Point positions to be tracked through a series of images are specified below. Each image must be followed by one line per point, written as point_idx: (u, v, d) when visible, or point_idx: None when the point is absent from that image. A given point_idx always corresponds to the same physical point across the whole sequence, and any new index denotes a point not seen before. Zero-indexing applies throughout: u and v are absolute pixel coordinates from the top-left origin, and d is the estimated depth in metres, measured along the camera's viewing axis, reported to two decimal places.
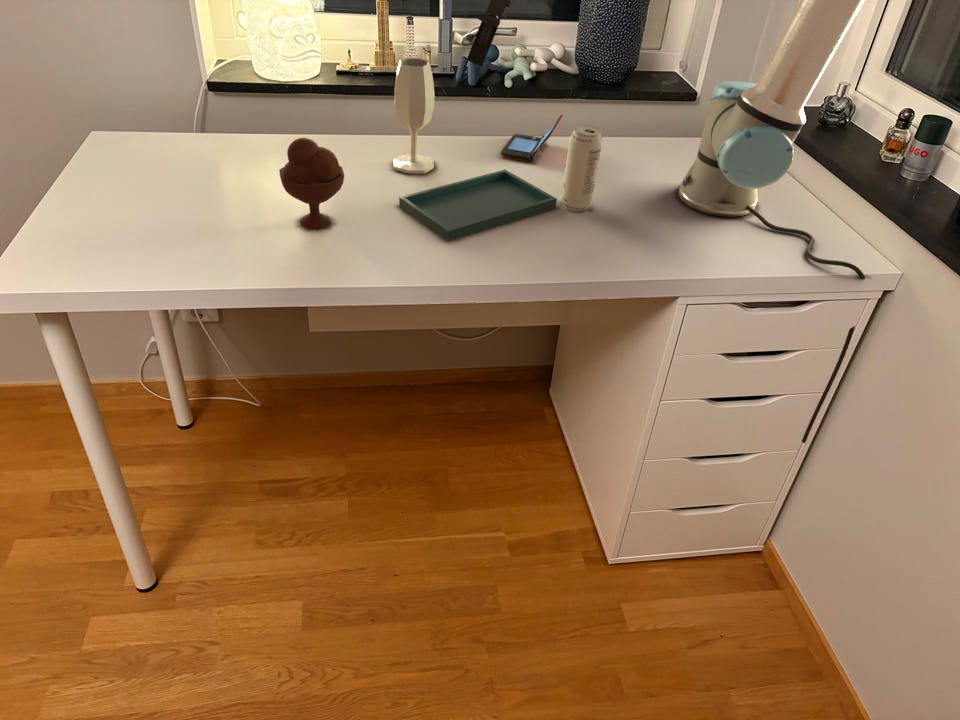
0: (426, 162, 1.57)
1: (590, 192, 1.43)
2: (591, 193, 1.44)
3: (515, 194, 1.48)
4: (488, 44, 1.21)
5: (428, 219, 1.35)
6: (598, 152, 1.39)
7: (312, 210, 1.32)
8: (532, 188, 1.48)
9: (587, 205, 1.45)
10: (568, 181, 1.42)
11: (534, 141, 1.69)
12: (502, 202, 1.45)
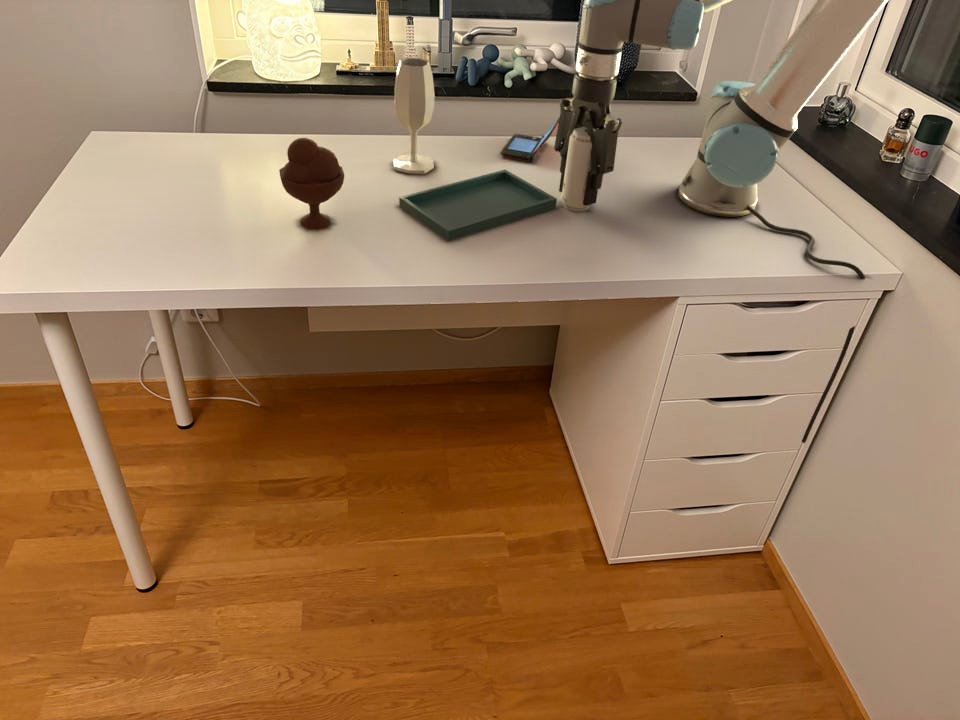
0: (426, 162, 1.57)
1: None
2: None
3: (515, 194, 1.48)
4: None
5: (428, 219, 1.35)
6: None
7: (312, 210, 1.32)
8: (532, 188, 1.48)
9: (587, 205, 1.45)
10: (568, 181, 1.42)
11: (534, 141, 1.69)
12: (502, 202, 1.45)
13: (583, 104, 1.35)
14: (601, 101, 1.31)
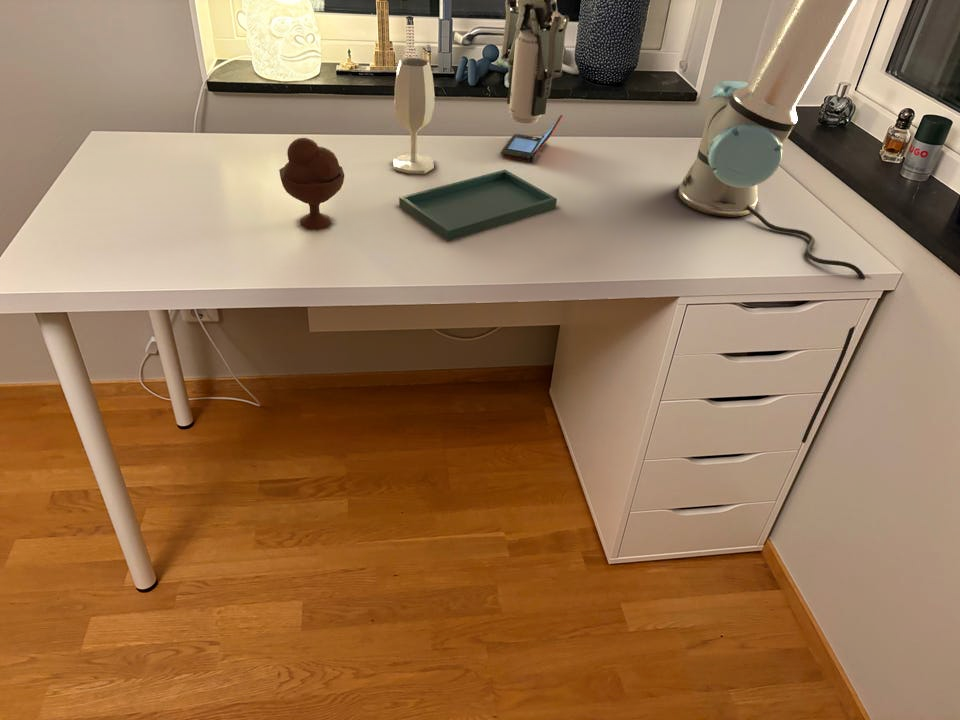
0: (426, 162, 1.57)
1: None
2: None
3: (515, 194, 1.48)
4: None
5: (428, 219, 1.35)
6: None
7: (312, 210, 1.32)
8: (532, 188, 1.48)
9: (536, 116, 1.36)
10: (514, 89, 1.33)
11: (534, 141, 1.69)
12: (502, 202, 1.45)
13: (528, 2, 1.26)
14: None
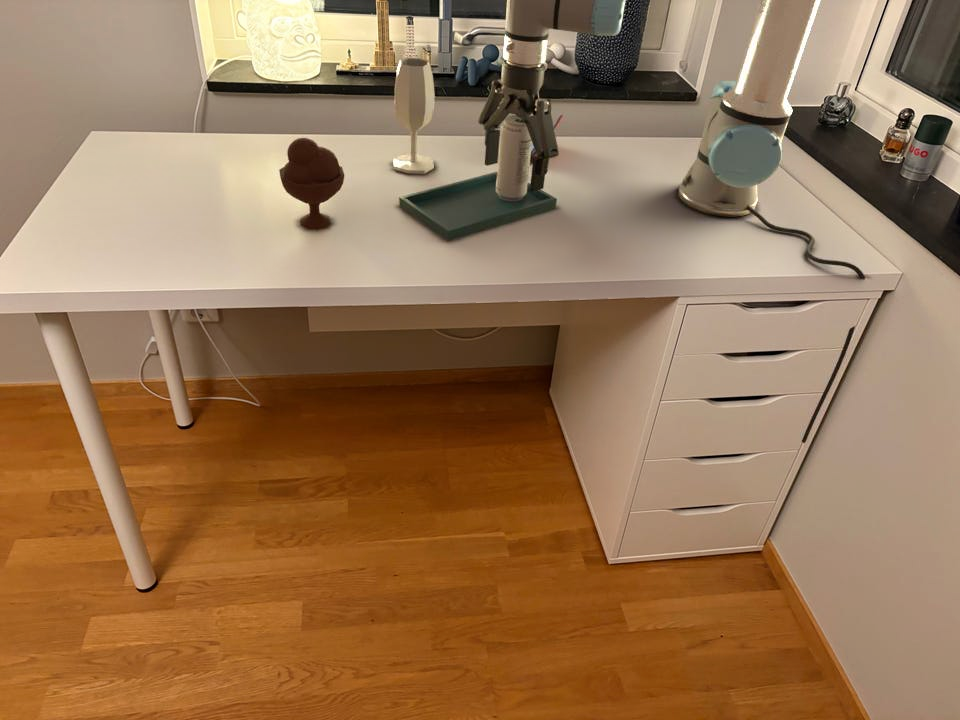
0: (426, 162, 1.57)
1: (523, 182, 1.44)
2: (524, 183, 1.44)
3: None
4: None
5: (428, 219, 1.35)
6: (529, 142, 1.39)
7: (312, 210, 1.32)
8: None
9: (521, 195, 1.45)
10: (500, 171, 1.43)
11: None
12: (502, 202, 1.45)
13: (513, 92, 1.36)
14: (529, 88, 1.32)
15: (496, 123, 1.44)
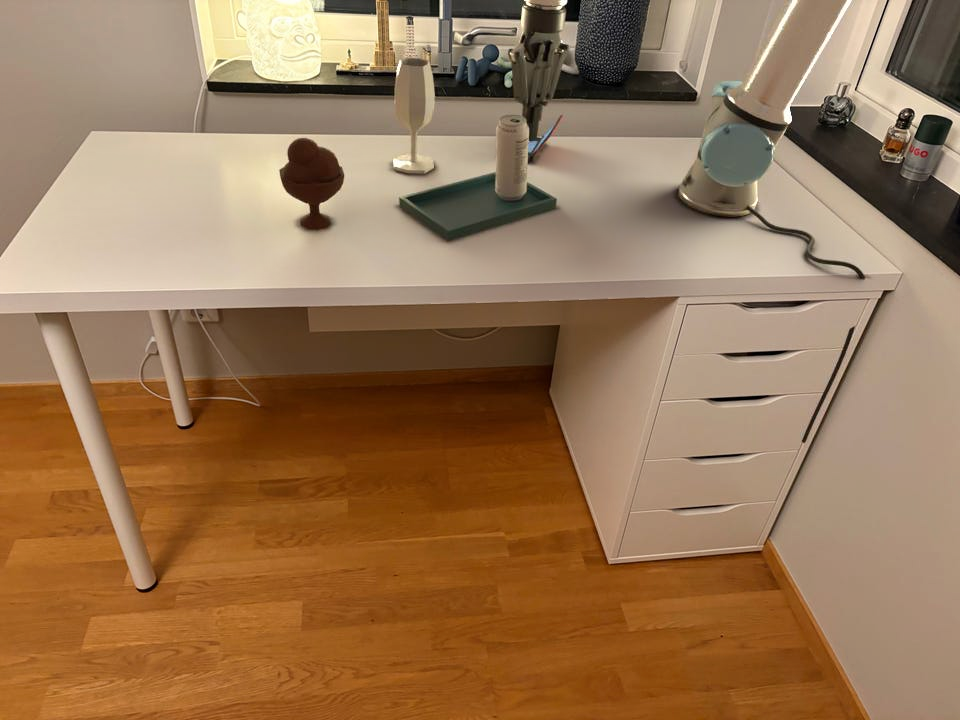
0: (426, 162, 1.57)
1: (522, 181, 1.43)
2: (523, 182, 1.44)
3: None
4: None
5: (428, 219, 1.35)
6: (525, 141, 1.39)
7: (312, 210, 1.32)
8: (532, 188, 1.48)
9: (520, 194, 1.45)
10: (498, 171, 1.43)
11: (534, 141, 1.69)
12: (502, 202, 1.45)
13: (541, 39, 1.31)
14: None
15: None
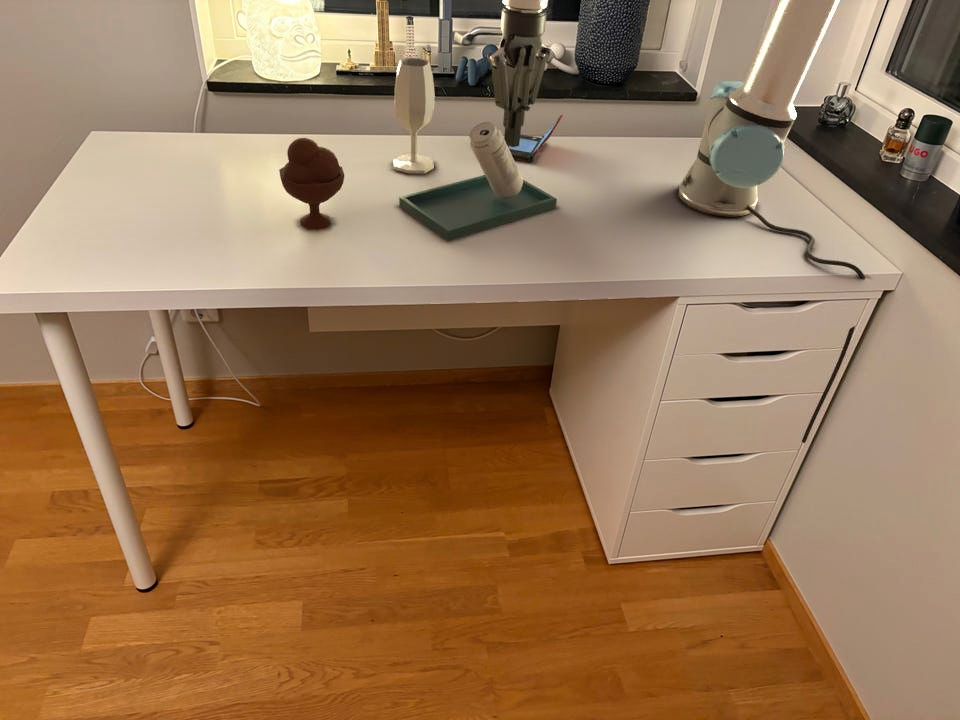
0: (426, 162, 1.57)
1: (514, 180, 1.42)
2: (515, 179, 1.42)
3: None
4: None
5: (428, 219, 1.35)
6: (501, 148, 1.36)
7: (312, 210, 1.32)
8: (532, 188, 1.48)
9: (517, 190, 1.44)
10: (488, 179, 1.42)
11: (534, 141, 1.69)
12: (502, 202, 1.45)
13: (521, 43, 1.29)
14: None
15: None
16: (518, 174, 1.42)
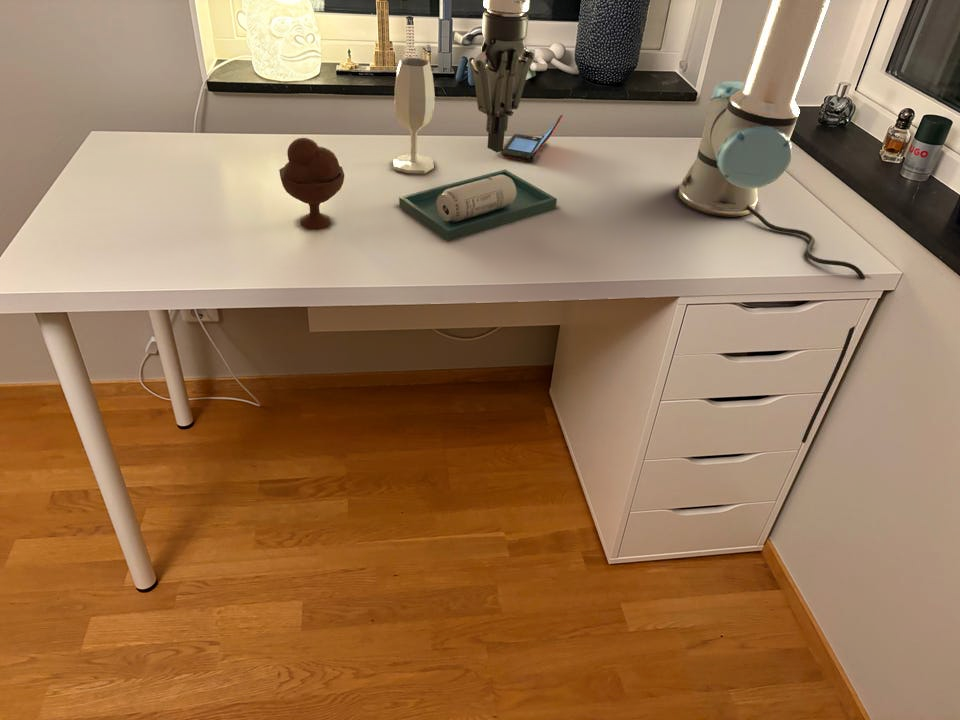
0: (426, 162, 1.57)
1: (499, 208, 1.41)
2: (501, 206, 1.40)
3: None
4: None
5: (428, 219, 1.35)
6: (467, 217, 1.36)
7: (312, 210, 1.32)
8: (532, 188, 1.48)
9: (508, 205, 1.42)
10: None
11: (534, 141, 1.69)
12: None
13: (503, 47, 1.27)
14: None
15: None
16: (503, 201, 1.39)
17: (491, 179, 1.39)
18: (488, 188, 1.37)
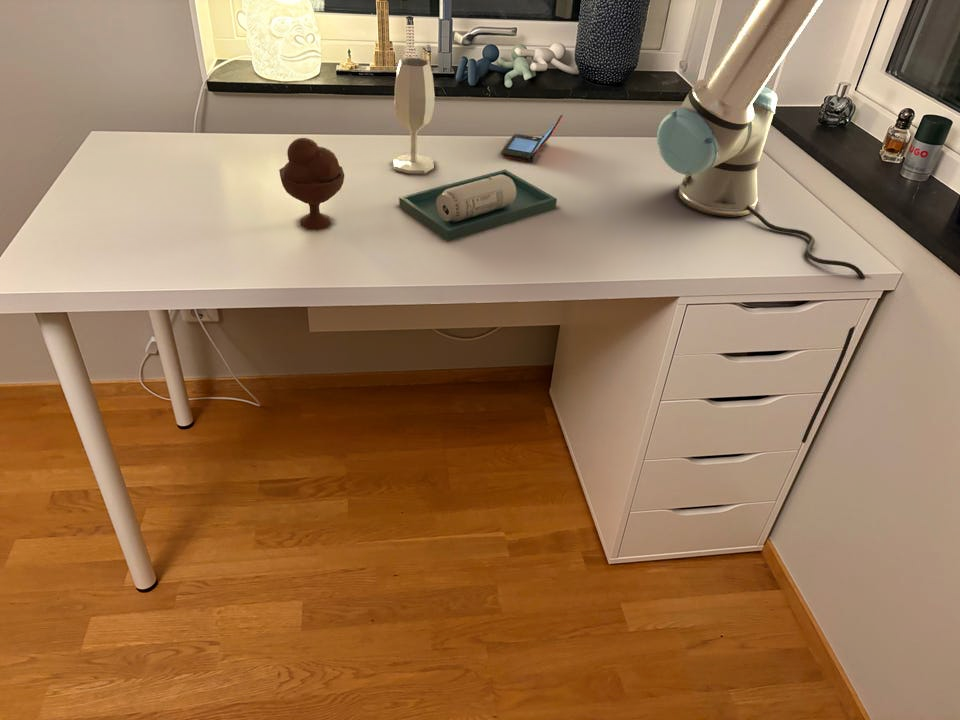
0: (426, 162, 1.57)
1: (499, 208, 1.41)
2: (501, 206, 1.40)
3: None
4: None
5: (428, 219, 1.35)
6: (467, 217, 1.36)
7: (312, 210, 1.32)
8: (532, 188, 1.48)
9: (508, 205, 1.42)
10: None
11: (534, 141, 1.69)
12: None
13: None
14: None
15: None
16: (503, 201, 1.39)
17: (491, 179, 1.39)
18: (487, 188, 1.37)
